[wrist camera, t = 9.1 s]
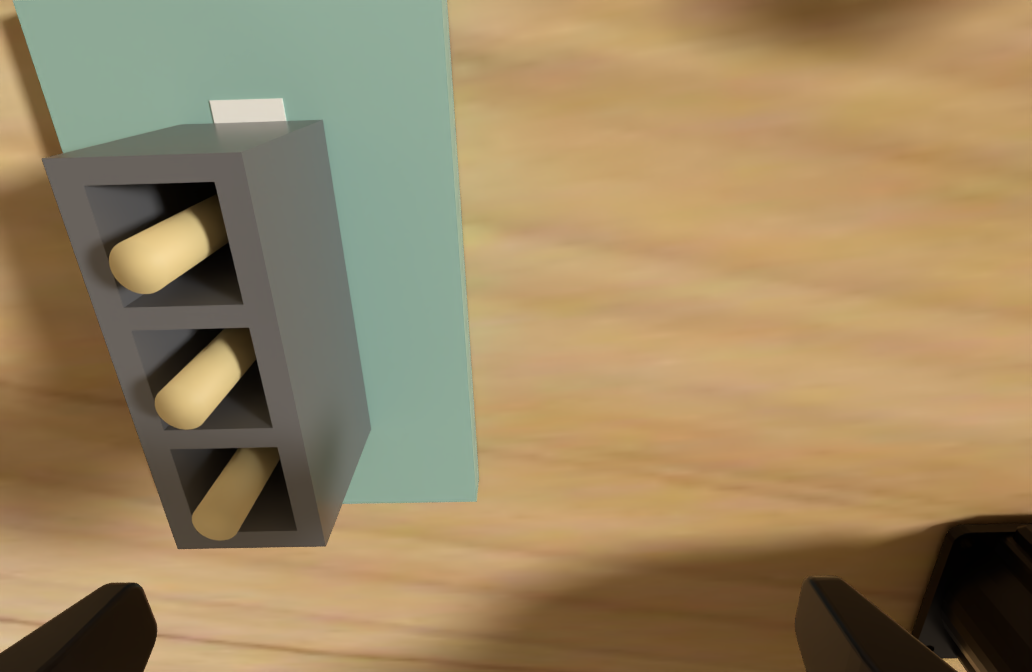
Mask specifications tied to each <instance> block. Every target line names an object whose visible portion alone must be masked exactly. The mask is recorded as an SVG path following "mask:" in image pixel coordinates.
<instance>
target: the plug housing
mask: <svg viewBox="0 0 1032 672" xmlns="http://www.w3.org/2000/svg"><path fill="white" fill-rule="evenodd" d="M42 162H43V164H44V167H45V170H46V173H47V176H48V179H49V182H50V184H51V187H52V190H53V193H54V196H55V199H56V202H57V204H58V207H59V210H60V213H61V216H62V219H63V222H64V225H65V227H66V230H67V233H68V236H69V239H70V242H71V245H72V247H73V250H74V253H75V256H76V259H77V262H78V265H79V267H80V270H81V273H82V276H83V279H84V282H85V285H86V288H87V290H88V293H89V296H90V299H91V302H92V305H93V308H94V310H95V313H96V316H97V319H98V322H99V325H100V328H101V330H102V333H103V336H104V339H105V342H106V345H107V348H108V351H109V353H110V356H111V359H112V362H113V365H114V368H115V371H116V373H117V376H118V379H119V382H120V385H121V388H122V391H123V394H124V396H125V399H126V402H127V405H128V408H129V411H130V414H131V416H132V419H133V422H134V425H135V428H136V431H137V434H138V436H139V439H140V442H141V445H142V448H143V451H144V454H145V457H146V459H147V462H148V465H149V468H150V471H151V474H152V477H153V479H154V482H155V485H156V488H157V491H158V494H159V497H160V499H161V502H162V505H163V508H164V511H165V514H166V517H167V520H168V522H169V525H170V528H171V531H172V534H173V537H174V540H175V542H176V545H177V548H178V549H208V548H263V547H317V546H326V545H327V542H328V539H329V537H330V534H331V532H332V529H333V527H334V524H335V521H336V519H337V516H338V514H339V511H340V508H341V506H342V503H343V501H344V498H345V496H346V493H347V490H348V488H349V485H350V483H351V480H352V477H353V475H354V472H355V470H356V467H357V465H358V462H359V459H360V457H361V454H362V452H363V449H364V446H365V444H366V441H367V439H368V436H369V434H370V431H371V424H370V418H369V412H368V405H367V399H366V393H365V386H364V380H363V373H362V367H361V361H360V354H359V348H358V342H357V335H356V329H355V322H354V316H353V310H352V303H351V297H350V290H349V284H348V278H347V271H346V265H345V259H344V252H343V246H342V239H341V233H340V227H339V220H338V214H337V207H336V201H335V195H334V188H333V182H332V176H331V169H330V163H329V156H328V150H327V144H326V137H325V131H324V124H323V120H299V121H269V122H238V123H208V124H180V125H176V126H172V127H168V128H164V129H160V130H156V131H152V132H147V133H143V134H139V135H135V136H131V137H127V138H123V139H119V140H115V141H111V142H107V143H103V144H99V145H95V146H91V147H87V148H83V149H78V150H74V151H70V152H66V153H62V154H58V155H54V156H50V157H46V158H42ZM215 194H218V198H219V203H220V207H221V211H222V215H223V219H224V224H225V228H226V232H227V236H228V241H229V242H228V243H227V244H226V245H224V246H223V247H221V248H220V249H218V250H217V251H215V252H214V253H212V254H211V255H210V256H208V257H207V258H205V259H204V260H202V261H201V262H199V263H198V264H197V265H195V266H194V267H192V268H191V269H189V270H188V271H186V272H185V273H183V274H182V275H181V276H179V277H178V278H176V279H175V280H173V281H172V282H170V283H169V284H168V285H166V286H165V287H163V288H162V289H160V290H159V291H157V292H155V293H151V294H139V293H135V292H133V291H130V290H129V289H127V288H125V287H124V286H123V285H121V284H120V283H119V282H118V281H117V279H116V278H115V277H114V275H113V273H112V271H111V269H110V265H109V256H110V252H111V250H112V249H113V247H114V246H115V245H117V244H118V243H120V242H122V241H124V240H126V239H128V238H130V237H132V236H134V235H136V234H138V233H140V232H142V231H144V230H146V229H148V228H150V227H152V226H154V225H156V224H158V223H160V222H162V221H164V220H166V219H168V218H170V217H172V216H174V215H176V214H177V213H179V212H181V211H183V210H185V209H187V208H189V207H191V206H193V205H195V204H197V203H199V202H201V201H203V200H205V199H207V198H209V197H211V196H213V195H215ZM224 328H249V329H250V333H251V338H252V342H253V346H254V350H255V355H256V360H255V361H254V363H253V364H252V365H251V366H250V367H249V369H248V370H247V371H246V372H245V373H244V375H243V376H242V377H241V378H240V379H239V381H238V382H237V383H236V384H235V385H234V387H233V388H232V389H231V390H230V391H229V393H228V394H227V395H226V396H225V397H224V399H223V400H222V401H221V402H220V403H219V405H218V406H217V407H216V408H215V409H214V411H213V412H212V413H211V414H210V415H209V417H208V418H207V419H206V420H205V421H204V423H203V424H202V425H200V426H199V427H197V428H194V429H189V430H184V429H178V428H175V427H173V426H171V425H169V424H167V423H166V422H165V421H164V420H163V419H162V418H161V417H160V416H159V415H158V413H157V411H156V408H155V398H156V395H157V394H158V393H159V392H160V391H161V390H162V389H163V388H164V387H165V386H166V385H167V384H168V383H169V382H170V381H171V380H172V379H173V378H174V377H175V376H176V375H177V374H178V373H179V372H180V371H181V370H182V369H183V368H184V367H185V366H186V365H187V364H188V363H189V362H190V361H191V360H193V359H194V358H195V357H196V356H197V355H198V354H199V353H200V352H201V351H202V350H203V349H204V348H205V347H206V346H207V345H208V344H209V343H210V342H211V341H212V340H213V339H214V338H215V337H216V336H217V335H218V334H219V333H220V332H221V331H222V330H223V329H224ZM258 447H278V452H279V456H280V460H279V461H278V463H277V465H276V466H275V468H274V470H273V472H272V473H271V475H270V477H269V479H268V480H267V482H266V484H265V486H264V487H263V489H262V491H261V492H260V494H259V496H258V498H257V499H256V501H255V503H254V505H253V506H252V508H251V510H250V511H249V513H248V515H247V517H246V518H245V520H244V522H243V524H242V525H241V527H240V529H239V531H238V532H237V534H236V535H235V536H234V537H232V538H230V539H228V540H221V541H220V540H212V539H209V538H207V537H205V536H203V535H202V534H200V533H199V532H198V531H197V530H196V529H195V527H194V525H193V523H192V515H193V513H194V511H195V510H196V508H197V507H198V505H199V504H200V503H201V501H202V500H203V498H204V497H205V495H206V494H207V492H208V491H209V490H210V488H211V487H212V485H213V484H214V482H215V481H216V480H217V478H218V477H219V475H220V474H221V472H222V471H223V469H224V468H225V467H226V465H227V464H228V462H229V461H230V459H231V458H232V457H233V455H234V454H235V452H236V451H237V449H238V448H258Z"/></svg>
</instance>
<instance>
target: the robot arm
mask: <svg viewBox="0 0 1032 672" xmlns="http://www.w3.org/2000/svg"><path fill="white" fill-rule="evenodd" d="M795 632H796V637H797V641H798V645H799V648H800V651H801V655H802V658H803V661H804V665H805V668H806V672H957V671H956V670H955V669H954V668H952V667H951V666H950V665H949V664H947V663H946V662H945V661H944V660H943V659H941V658H958V659H959V661H960V662H961V664H962V665H963V667H964V668H965V669H966V671H967V672H1032V523H1025V524H964V525H958V526H956V527H953V528H952V529H951V530H949V531H948V533H947V534H946V536H945V539H944V542H943V545H942V548H941V551H940V554H939V557H938V559H937V562H936V565H935V568H934V571H933V574H932V577H931V579H930V582H929V585H928V588H927V591H926V594H925V597H924V600H923V602H922V605H921V608H920V611H919V614H918V617H917V620H916V623H915V625H914V628H913V631H912V634H910V633H909V632H908V631H907V630H905V629H904V628H903V627H902V626H900V625H899V624H898V623H897V622H895V621H894V620H893V619H892V618H890V617H889V616H888V615H887V614H885V613H884V612H883V611H882V610H880V609H879V608H878V607H877V606H875V605H874V604H873V603H872V602H870V601H869V600H868V599H867V598H866V597H864V596H863V595H862V594H861V593H859V592H858V591H857V590H856V589H854V588H853V587H852V586H851V585H849V584H848V583H847V582H846V581H844V580H843V579H841V578H839V577H837V576H808V577H806V578H805V579H804V581H803V583H802V587H801V592H800V597H799V602H798V607H797V612H796V617H795ZM156 637H157V624H156V620H155V618H154V615H153V613H152V610H151V608H150V605H149V603H148V600H147V598H146V595H145V592H144V590H143V588H142V587H141V586H140V585H139V584H137V583H109V584H105V585H103V586H102V587H100V588H98V589H97V590H95V591H94V592H92V593H91V594H89V595H88V596H86V597H85V598H83V599H82V600H80V601H79V602H77V603H76V604H74V605H73V606H71V607H70V608H68V609H66V610H65V611H63V612H62V613H60V614H59V615H57V616H56V617H54V618H53V619H51V620H50V621H48V622H47V623H45V624H44V625H42V626H41V627H39V628H38V629H36V630H35V631H33V632H32V633H30V634H29V635H27V636H26V637H24V638H23V639H21V640H20V641H18V642H17V643H15V644H14V645H12V646H11V647H9V648H8V649H6V650H4V651H3V652H1V653H0V672H144V669H145V667H146V664H147V662H148V659H149V657H150V654H151V652H152V649H153V647H154V644H155V641H156Z"/></svg>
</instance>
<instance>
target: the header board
mask: <svg viewBox="0 0 1032 672" xmlns="http://www.w3.org/2000/svg"><path fill="white" fill-rule="evenodd" d="M13 3H14V6H15V9H16V12H17V15H18V18H19V21H20V24H21V27H22V30H23V33H24V36H25V39H26V42H27V45H28V48H29V51H30V54H31V57H32V61H33V64H34V67H35V70H36V73H37V76H38V79H39V82H40V85H41V88H42V91H43V94H44V97H45V100H46V103H47V106H48V109H49V112H50V115H51V118H52V121H53V124H54V127H55V130H56V133H57V136H58V139H59V142H60V145H61V148H62V151H63V153H66V152H70V151H74V150H78V149H83V148H87V147H91V146H95V145H99V144H103V143H107V142H111V141H115V140H119V139H123V138H127V137H131V136H135V135H139V134H143V133H147V132H152V131H156V130H160V129H164V128H168V127H172V126H176V125H180V124H208V123H238V122H269V121H299V120H323V124H324V131H325V137H326V144H327V150H328V156H329V163H330V169H331V176H332V182H333V188H334V195H335V201H336V207H337V214H338V220H339V227H340V233H341V239H342V246H343V252H344V259H345V265H346V271H347V278H348V284H349V290H350V297H351V303H352V310H353V316H354V322H355V329H356V335H357V342H358V348H359V354H360V361H361V367H362V373H363V380H364V386H365V393H366V399H367V405H368V412H369V418H370V424H371V431H370V434H369V436H368V439H367V441H366V444H365V446H364V449H363V452H362V454H361V457H360V459H359V462H358V465H357V467H356V470H355V472H354V475H353V477H352V480H351V483H350V485H349V488H348V490H347V493H346V496H345V498H344V501H343V503H342V504H357V503H417V502H477V493H478V482H479V473H478V458H477V443H476V428H475V413H474V398H473V383H472V368H471V353H470V338H469V323H468V308H467V293H466V278H465V263H464V248H463V233H462V218H461V203H460V188H459V173H458V158H457V143H456V128H455V113H454V98H453V83H452V68H451V53H450V38H449V23H448V8H447V0H13ZM228 242H229V241H228V236H227V232H226V228H225V224H224V219H223V215H222V211H221V207H220V203H219V198H218V194H215V195H213V196H211V197H209V198H207V199H205V200H203V201H201V202H199V203H197V204H195V205H193V206H191V207H189V208H187V209H185V210H183V211H181V212H179V213H177V214H176V215H174V216H172V217H170V218H168V219H166V220H164V221H162V222H160V223H158V224H156V225H154V226H152V227H150V228H148V229H146V230H144V231H142V232H140V233H138V234H136V235H134V236H132V237H130V238H128V239H126V240H124V241H122V242H120V243H118V244H117V245H115V246H114V247H113V249H112V250H111V252H110V256H109V265H110V269H111V271H112V273H113V275H114V277H115V278H116V279H117V281H118V282H119V283H120V284H121V285H123V286H124V287H125V288H127V289H129V290H130V291H133V292H135V293H139V294H151V293H155V292H157V291H159V290H160V289H162V288H163V287H165V286H166V285H168V284H169V283H170V282H172V281H173V280H175V279H176V278H178V277H179V276H181V275H182V274H183V273H185V272H186V271H188V270H189V269H191V268H192V267H194V266H195V265H197V264H198V263H199V262H201V261H202V260H204V259H205V258H207V257H208V256H210V255H211V254H212V253H214V252H215V251H217V250H218V249H220V248H221V247H223V246H224V245H226V244H227V243H228ZM255 360H256V355H255V350H254V346H253V342H252V338H251V333H250V329H249V328H224V329H223V330H222V331H221V332H220V333H219V334H218V335H217V336H216V337H215V338H214V339H213V340H212V341H211V342H210V343H209V344H208V345H207V346H206V347H205V348H204V349H203V350H202V351H201V352H200V353H199V354H198V355H197V356H196V357H195V358H194V359H193V360H191V361H190V362H189V363H188V364H187V365H186V366H185V367H184V368H183V369H182V370H181V371H180V372H179V373H178V374H177V375H176V376H175V377H174V378H173V379H172V380H171V381H170V382H169V383H168V384H167V385H166V386H165V387H164V388H163V389H162V390H161V391H160V392H159V393H158V394H157V395H156V398H155V408H156V411H157V413H158V415H159V416H160V417H161V418H162V419H163V420H164V421H165V422H166V423H167V424H169V425H171V426H173V427H175V428H178V429H184V430H189V429H194V428H197V427H199V426H200V425H202V424H203V423H204V421H205V420H206V419H207V418H208V417H209V415H210V414H211V413H212V412H213V411H214V409H215V408H216V407H217V406H218V405H219V403H220V402H221V401H222V400H223V399H224V397H225V396H226V395H227V394H228V393H229V391H230V390H231V389H232V388H233V387H234V385H235V384H236V383H237V382H238V381H239V379H240V378H241V377H242V376H243V375H244V373H245V372H246V371H247V370H248V369H249V367H250V366H251V365H252V364H253V363H254V361H255ZM279 460H280V456H279V452H278V447H258V448H238V449H237V451H236V452H235V454H234V455H233V457H232V458H231V459H230V461H229V462H228V464H227V465H226V467H225V468H224V469H223V471H222V472H221V474H220V475H219V477H218V478H217V480H216V481H215V482H214V484H213V485H212V487H211V488H210V490H209V491H208V492H207V494H206V495H205V497H204V498H203V500H202V501H201V503H200V504H199V505H198V507H197V508H196V510H195V511H194V513H193V515H192V523H193V525H194V527H195V529H196V530H197V531H198V532H199V533H200V534H202V535H203V536H205V537H207V538H209V539H212V540H220V541H221V540H228V539H230V538H232V537H234V536H235V535H236V534H237V532H238V531H239V529H240V527H241V525H242V524H243V522H244V520H245V518H246V517H247V515H248V513H249V511H250V510H251V508H252V506H253V505H254V503H255V501H256V499H257V498H258V496H259V494H260V492H261V491H262V489H263V487H264V486H265V484H266V482H267V480H268V479H269V477H270V475H271V473H272V472H273V470H274V468H275V466H276V465H277V463H278V461H279Z"/></svg>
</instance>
